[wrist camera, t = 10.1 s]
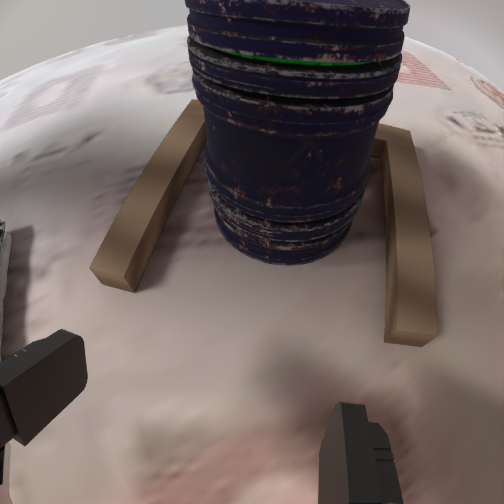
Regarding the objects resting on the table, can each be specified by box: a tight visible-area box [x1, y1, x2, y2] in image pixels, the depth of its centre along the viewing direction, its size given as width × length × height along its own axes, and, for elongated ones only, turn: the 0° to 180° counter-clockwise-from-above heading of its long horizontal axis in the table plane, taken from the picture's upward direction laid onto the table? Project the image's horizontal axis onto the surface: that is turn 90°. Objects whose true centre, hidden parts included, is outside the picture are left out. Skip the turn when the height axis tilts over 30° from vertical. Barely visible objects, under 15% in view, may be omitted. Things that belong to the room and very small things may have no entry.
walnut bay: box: [90, 99, 437, 347], centre depth 22 cm, size 18×20×2 cm
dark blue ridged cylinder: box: [185, 0, 410, 265], centre depth 16 cm, size 10×10×15 cm
